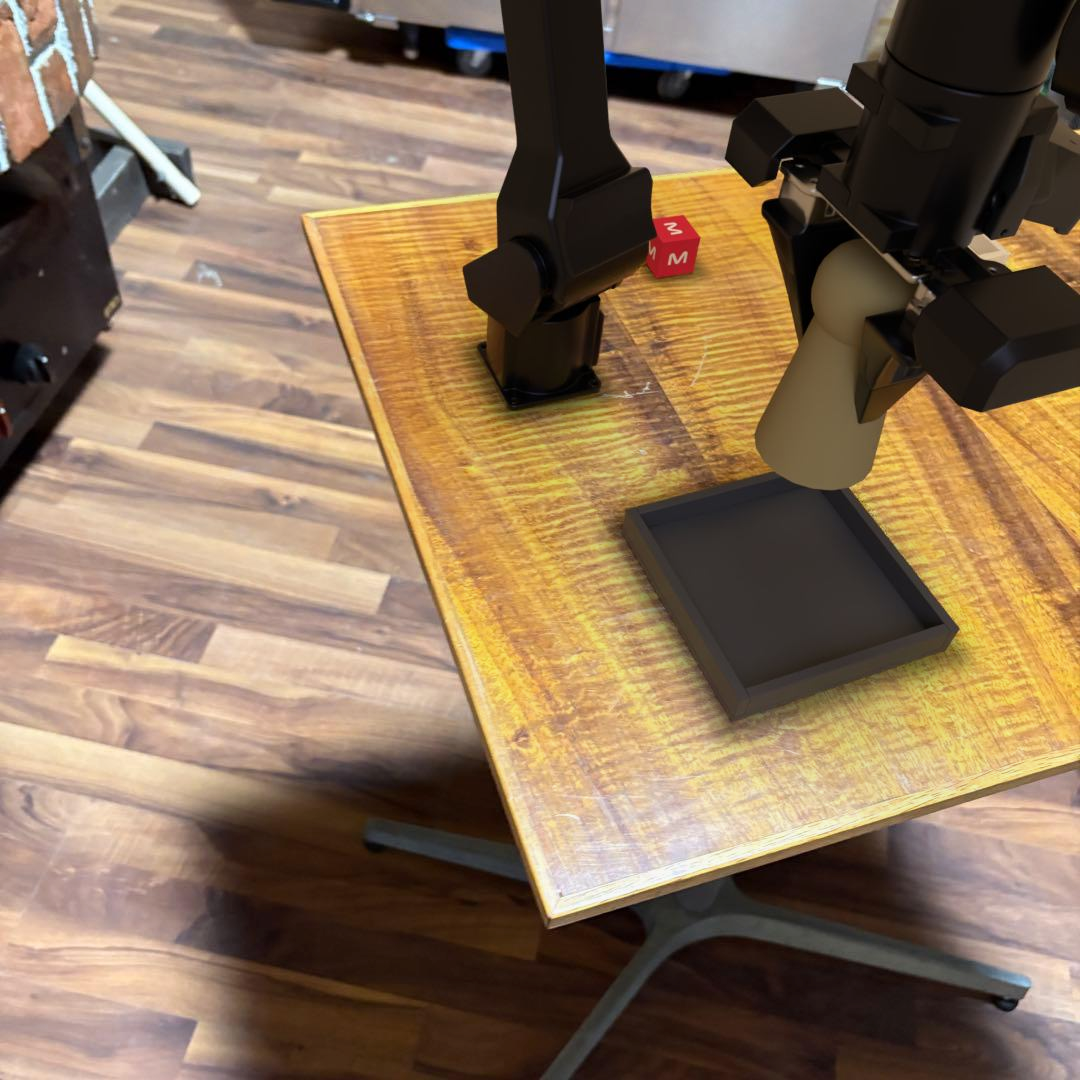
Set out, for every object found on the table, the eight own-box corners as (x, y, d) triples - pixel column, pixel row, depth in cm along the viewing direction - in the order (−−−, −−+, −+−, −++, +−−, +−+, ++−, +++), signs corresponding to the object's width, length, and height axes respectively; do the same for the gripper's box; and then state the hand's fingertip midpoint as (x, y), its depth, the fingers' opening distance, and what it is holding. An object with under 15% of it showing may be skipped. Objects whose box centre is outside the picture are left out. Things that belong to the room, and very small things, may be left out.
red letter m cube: (693, 272, 76) (700, 237, 73) (656, 278, 75) (662, 242, 73) (676, 249, 77) (683, 214, 75) (640, 255, 77) (646, 219, 74)
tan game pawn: (875, 500, 49) (964, 314, 41) (750, 476, 50) (813, 286, 41) (873, 417, 53) (954, 232, 45) (757, 396, 53) (816, 207, 45)
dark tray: (731, 722, 51) (740, 701, 49) (620, 531, 59) (625, 508, 57) (946, 650, 55) (960, 628, 53) (816, 480, 62) (825, 457, 61)
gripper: (1338, 158, 33) (1105, 485, 45) (981, -61, 44) (868, 250, 56) (1076, 209, 30) (898, 547, 42) (759, -40, 41) (689, 285, 53)
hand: (838, 388), depth 48 cm, fingers closed on tan game pawn, 4 cm apart
